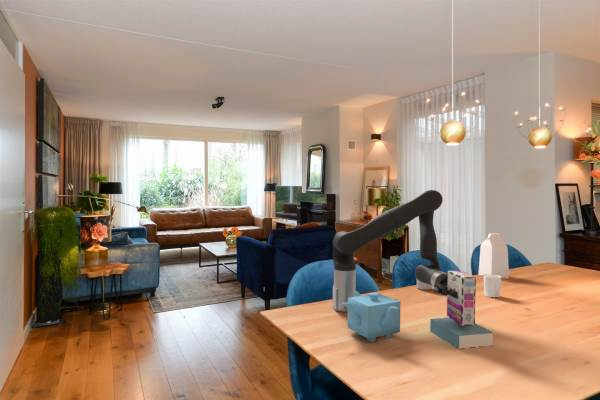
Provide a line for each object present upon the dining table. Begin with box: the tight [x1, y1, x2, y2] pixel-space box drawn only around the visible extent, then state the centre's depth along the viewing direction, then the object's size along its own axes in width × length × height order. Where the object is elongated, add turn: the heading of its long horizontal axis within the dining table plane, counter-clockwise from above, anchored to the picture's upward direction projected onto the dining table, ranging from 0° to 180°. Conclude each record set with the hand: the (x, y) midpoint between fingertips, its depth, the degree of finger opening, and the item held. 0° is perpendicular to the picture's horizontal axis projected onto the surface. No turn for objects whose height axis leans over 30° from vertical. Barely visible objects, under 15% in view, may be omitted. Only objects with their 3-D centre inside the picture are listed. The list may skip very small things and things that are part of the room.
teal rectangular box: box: [429, 317, 494, 350], centre depth 135 cm, size 13×16×5 cm
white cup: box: [483, 274, 502, 299], centre depth 190 cm, size 8×8×10 cm
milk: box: [478, 232, 510, 277], centre depth 234 cm, size 12×12×26 cm
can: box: [416, 278, 433, 291], centre depth 203 cm, size 8×8×12 cm
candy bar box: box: [446, 270, 477, 326], centre depth 134 cm, size 11×5×16 cm, turn 5°
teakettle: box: [342, 290, 402, 343], centre depth 137 cm, size 19×19×15 cm
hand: (464, 295), depth 132 cm, fingers closed on candy bar box, 5 cm apart
